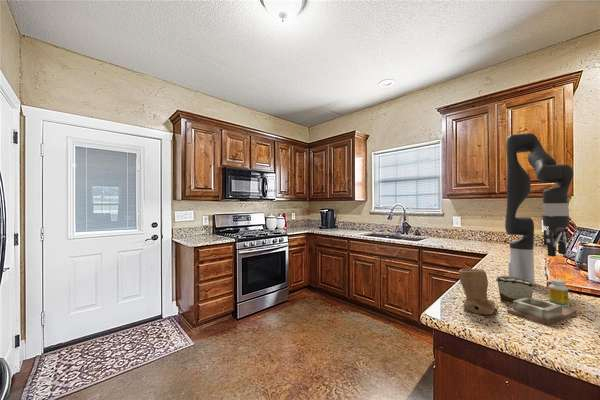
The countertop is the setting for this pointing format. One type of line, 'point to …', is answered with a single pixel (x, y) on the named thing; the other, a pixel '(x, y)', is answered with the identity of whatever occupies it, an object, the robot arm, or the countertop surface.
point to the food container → (514, 288)
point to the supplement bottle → (558, 293)
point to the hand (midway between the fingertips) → (557, 255)
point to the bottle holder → (540, 310)
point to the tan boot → (476, 291)
